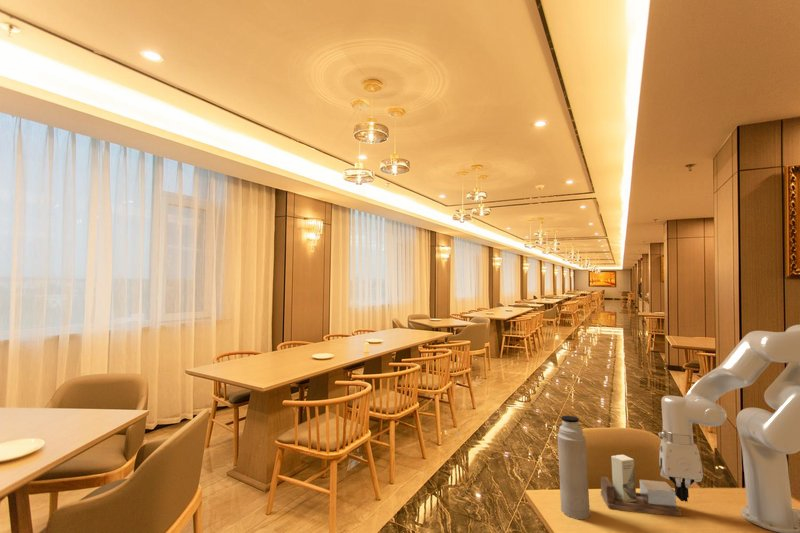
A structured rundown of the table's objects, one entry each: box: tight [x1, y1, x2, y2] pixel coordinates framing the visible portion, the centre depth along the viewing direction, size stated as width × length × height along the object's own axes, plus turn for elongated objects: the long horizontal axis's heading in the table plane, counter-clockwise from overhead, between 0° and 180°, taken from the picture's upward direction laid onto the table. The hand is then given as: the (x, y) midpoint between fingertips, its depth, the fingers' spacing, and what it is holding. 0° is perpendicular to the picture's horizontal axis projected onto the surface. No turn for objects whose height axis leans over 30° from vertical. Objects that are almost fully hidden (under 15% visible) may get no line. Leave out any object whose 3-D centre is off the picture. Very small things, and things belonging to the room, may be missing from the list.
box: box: [611, 454, 637, 503], centre depth 119 cm, size 5×4×13 cm
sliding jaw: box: [639, 479, 678, 508], centre depth 116 cm, size 8×6×5 cm
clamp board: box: [600, 476, 682, 517], centre depth 117 cm, size 20×8×6 cm, turn 76°
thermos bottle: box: [556, 415, 590, 520], centre depth 115 cm, size 8×8×28 cm
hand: (682, 499), depth 114 cm, fingers closed
